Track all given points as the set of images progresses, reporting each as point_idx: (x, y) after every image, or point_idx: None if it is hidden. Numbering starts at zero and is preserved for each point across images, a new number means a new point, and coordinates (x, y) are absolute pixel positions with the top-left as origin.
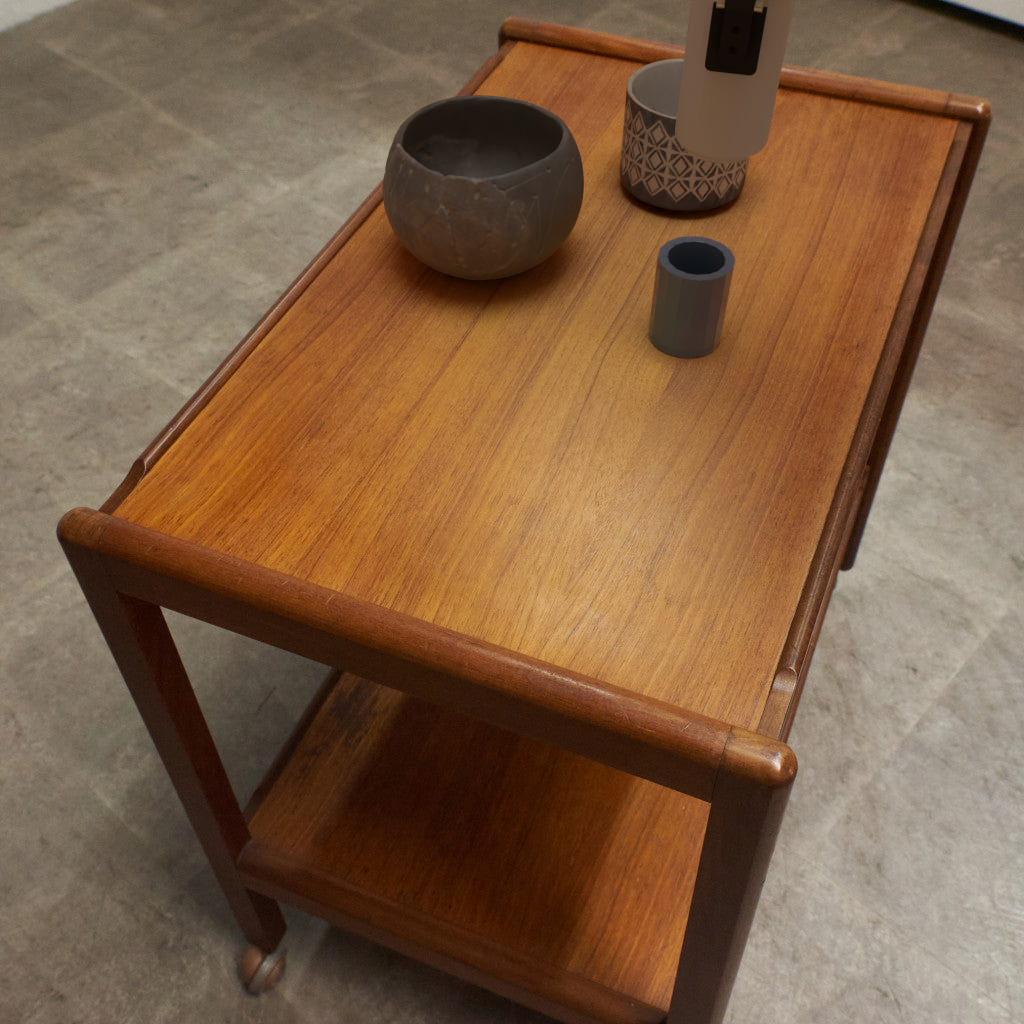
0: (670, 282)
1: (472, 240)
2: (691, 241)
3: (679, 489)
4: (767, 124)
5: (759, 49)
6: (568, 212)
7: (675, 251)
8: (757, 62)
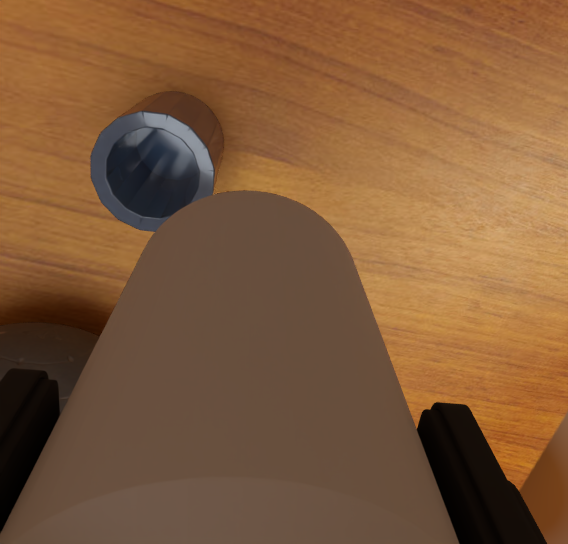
0: None
1: None
2: (108, 183)
3: (461, 141)
4: (306, 226)
5: (497, 466)
6: (75, 355)
7: (126, 202)
8: (477, 429)
